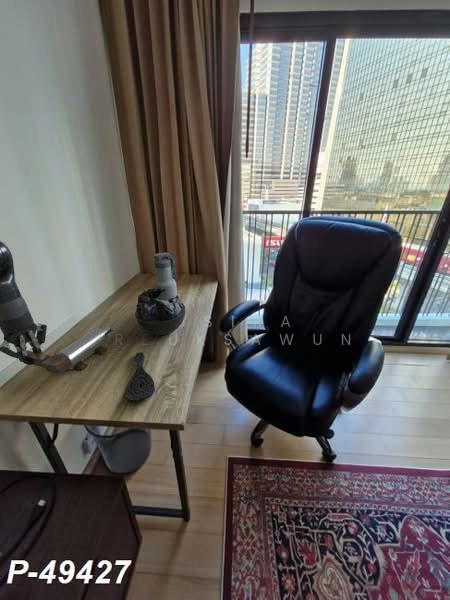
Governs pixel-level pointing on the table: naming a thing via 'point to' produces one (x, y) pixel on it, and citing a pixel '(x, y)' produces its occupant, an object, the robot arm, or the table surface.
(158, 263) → the water bottle
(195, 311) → the table surface
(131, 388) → the hairbrush
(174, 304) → the bin with black bag
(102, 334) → the steel bottle
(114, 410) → the table surface
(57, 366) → the scrub brush
